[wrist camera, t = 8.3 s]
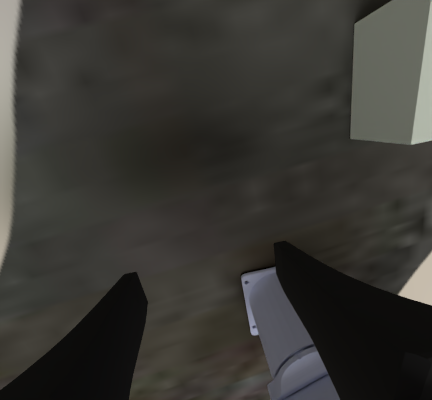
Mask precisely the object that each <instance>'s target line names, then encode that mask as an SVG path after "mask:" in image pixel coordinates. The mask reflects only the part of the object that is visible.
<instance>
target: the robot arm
mask: <svg viewBox="0 0 432 400" xmlns="http://www.w3.org/2000/svg"><path fill="white" fill-rule="evenodd" d="M274 253H275V266H276V267H272V268H268V269H263V270H259V271H254V272H249V273H245V274H243V275H242V276H241V280H242V286H243V292H244V297H245V303H246V308H247V314H248V320H249V325H250V331H251V334H252V335H258V334H259V336H260V340H261V343H262V346H263V349H264V352H265V356H266V359H267V362H268V365H269V369H270V372H271V375H272V378H273V381H272V382H270V383H269V384H268V385H267V387H268V391H269V394H270V398H271V400H432V306H431V305H428V304H424V303H421V302H418V301H414V300H411V299H407V298H405V297H401V296H398V295H395V294H392V293H390V292H387V291H384V290H381V289H379V288H376V287H373V286H371V285H368V284H366V283H363V282H361V281H359V280H356V279H354V278H352V277H349V276H347V275H345V274H343V273H341V272H339V271H337V270H335V269H333V268H331V267H329V266H327V265H325V264H323V263H322V262H320V261H318V260H316V259H314V258H313V257H311V256H309V255H308V254H306V253H304V252H303V251H301V250H299V249H298V248H296V247H295V246H293V245H291V244H290V243H288V242H286V241H282V242H277V243H274ZM245 281H247V282H245ZM147 305H148V301H147V298H146V296H145V293H144V290H143V288H142V285H141V283H140V280H139V277H138V275H137V272H133V273H128V274H124V275H123V276H122V277H121V278H120V279H119V280H118V282H117V283H116V284H115V285H114V286H113V287H112V288H111V289H110V290H109V292H108V293H107V294H106V295H105V296H104V297H103V298H102V299H101V300H100V301H99V303H98V304H97V305H96V306H95V307H94V308H93V309H92V310H91V311H90V312H89V313H88V314H87V315H86V316H85V317H84V318H83V319H82V320H81V321H80V322H79V323H78V324H77V325H76V327H75V328H73V329H72V330H71V331H70V332H69V333H68V334H67V335H66V336H65V337H64V338H63V339H62V340H61V341H60V342H59V343H57V344H56V345H55V346H54V347H53V348H52V349H51V350H50V351H48V352H47V353H46V354H45V355H44V356H43V357H41V358H40V359H39V360H38V361H37V362H35V363H34V364H33V365H32V366H30V367H29V368H28V369H27V370H26V371H24V372H23V373H22V374H21V375H19V376H18V377H17V378H16V379H14V380H13V381H12V382H11V383H9V384H8V385H7V386H5V387H4V388H3V389H1V390H0V400H129V395H130V388H131V383H132V378H133V373H134V369H135V365H136V360H137V356H138V352H139V348H140V344H141V340H142V335H143V331H144V327H145V322H146V315H147Z"/></svg>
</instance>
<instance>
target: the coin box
mask: <svg viewBox="0 0 432 400" xmlns="http://www.w3.org/2000/svg"><path fill="white" fill-rule="evenodd" d="M350 139H356V140H367V141H377V142H388V143H398V144H409V145H412V144H417V143H422V142H427V141H431V140H432V0H392V1H390V2H389V3H387V4H385V5H384V6H382V7H381V8H379V9H377V10H376V11H374V12H373V13H371V14H369V15H368V16H366V17H365V18H363V19H361V20H360V21H358V22H357V23H355V24H354V49H353V76H352V102H351V129H350Z"/></svg>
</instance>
